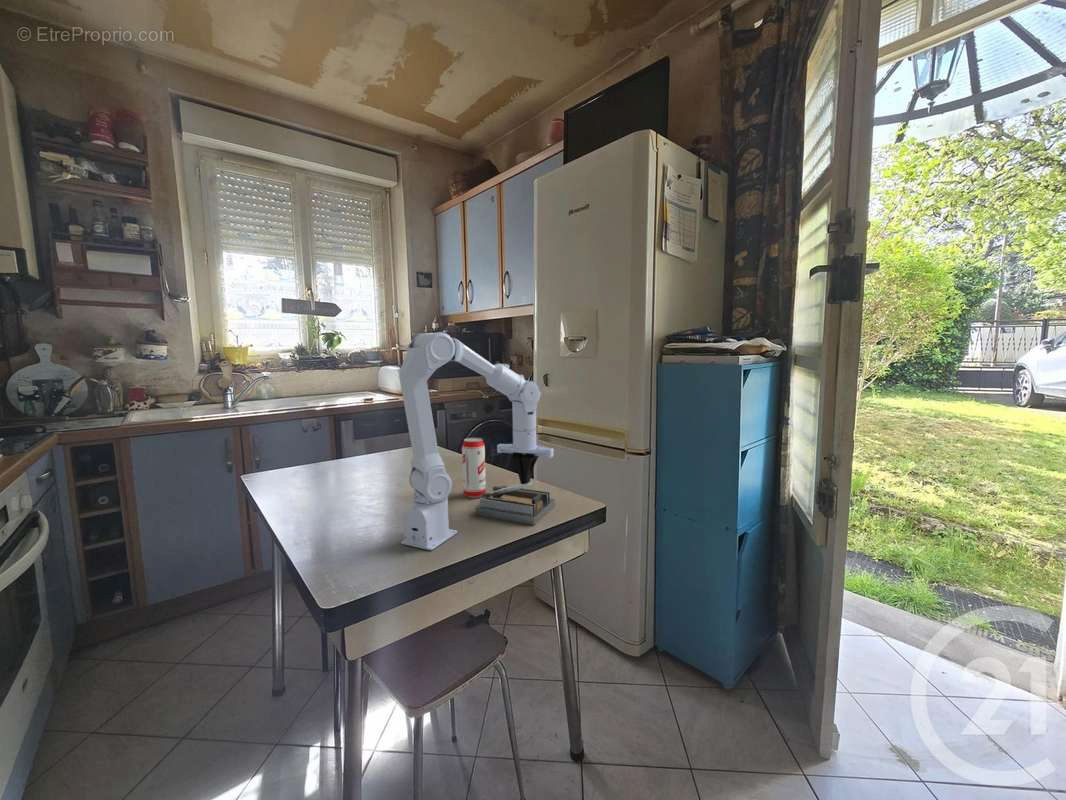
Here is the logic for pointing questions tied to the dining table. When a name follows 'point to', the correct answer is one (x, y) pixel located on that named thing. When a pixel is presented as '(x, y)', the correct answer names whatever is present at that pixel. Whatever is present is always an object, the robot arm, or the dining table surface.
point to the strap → (510, 488)
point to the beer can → (473, 467)
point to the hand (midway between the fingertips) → (525, 483)
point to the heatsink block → (516, 505)
